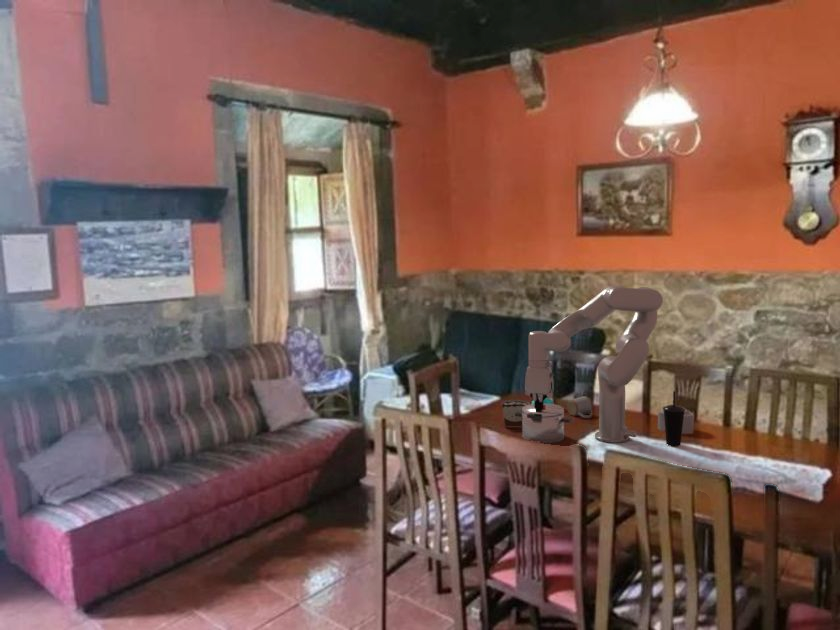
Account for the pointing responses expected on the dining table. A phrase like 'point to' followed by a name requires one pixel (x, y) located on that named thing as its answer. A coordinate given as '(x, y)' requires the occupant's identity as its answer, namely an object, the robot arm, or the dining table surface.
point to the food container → (512, 412)
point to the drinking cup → (673, 423)
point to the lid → (547, 411)
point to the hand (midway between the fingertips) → (538, 410)
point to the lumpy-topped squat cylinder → (687, 422)
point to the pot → (543, 428)
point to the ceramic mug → (580, 407)
